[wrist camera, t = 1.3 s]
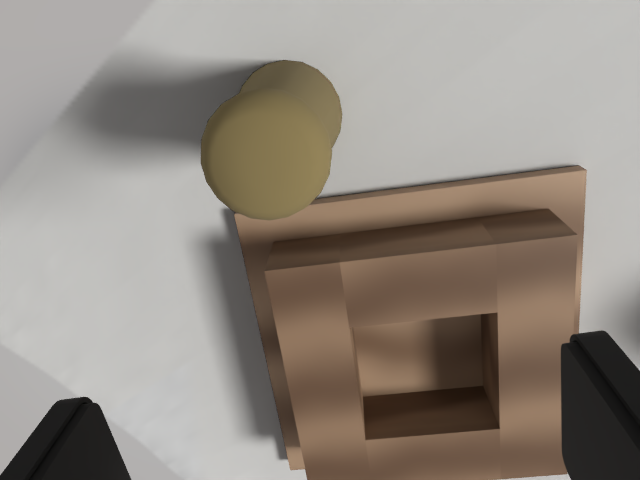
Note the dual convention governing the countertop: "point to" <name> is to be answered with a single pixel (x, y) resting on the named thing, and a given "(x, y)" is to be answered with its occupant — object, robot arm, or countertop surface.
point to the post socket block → (422, 326)
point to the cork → (273, 141)
